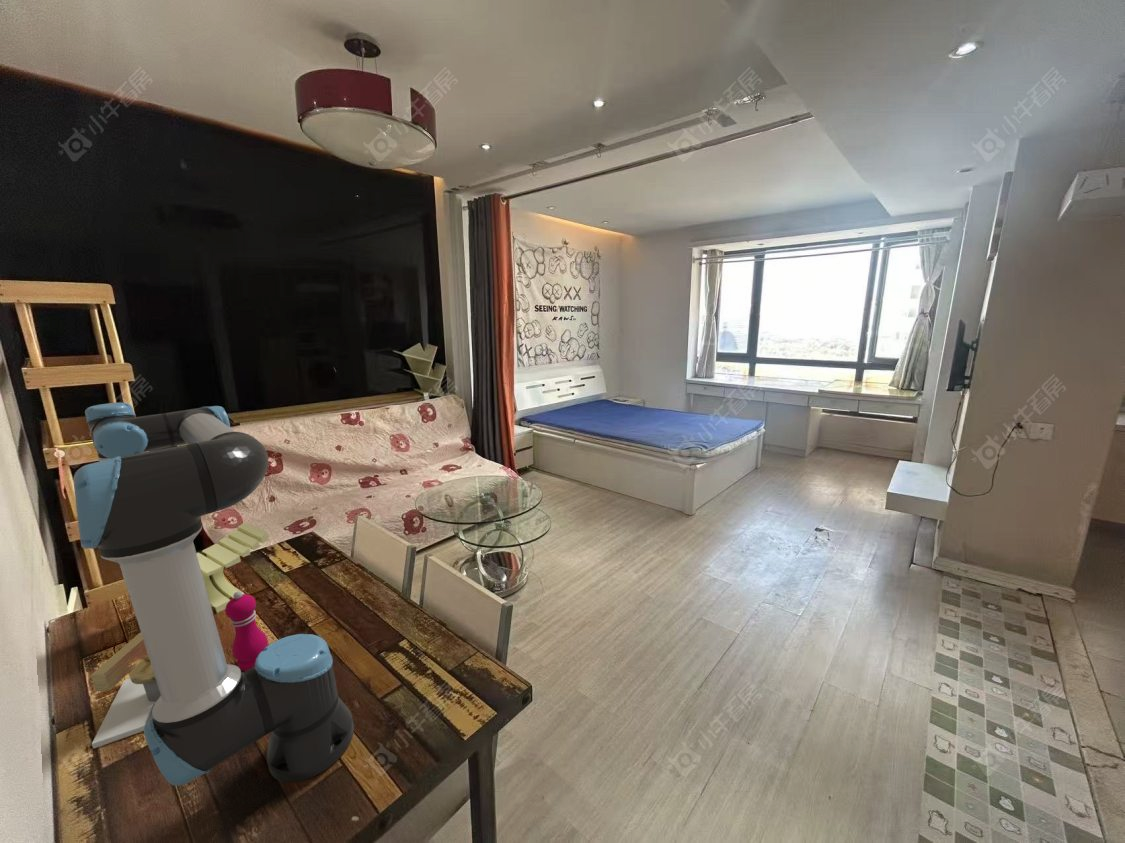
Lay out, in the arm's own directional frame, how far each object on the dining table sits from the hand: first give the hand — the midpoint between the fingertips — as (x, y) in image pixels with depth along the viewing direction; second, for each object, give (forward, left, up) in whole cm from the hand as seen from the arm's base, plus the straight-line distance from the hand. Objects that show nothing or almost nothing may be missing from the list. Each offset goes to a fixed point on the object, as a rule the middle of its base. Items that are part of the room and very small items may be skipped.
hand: (154, 561), depth 106 cm
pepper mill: (-13, -17, -27) cm, 34 cm away
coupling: (-15, 0, -19) cm, 24 cm away
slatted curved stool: (+22, -3, -27) cm, 35 cm away
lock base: (-15, 0, -26) cm, 30 cm away
